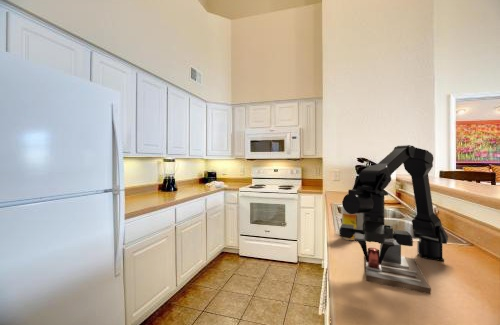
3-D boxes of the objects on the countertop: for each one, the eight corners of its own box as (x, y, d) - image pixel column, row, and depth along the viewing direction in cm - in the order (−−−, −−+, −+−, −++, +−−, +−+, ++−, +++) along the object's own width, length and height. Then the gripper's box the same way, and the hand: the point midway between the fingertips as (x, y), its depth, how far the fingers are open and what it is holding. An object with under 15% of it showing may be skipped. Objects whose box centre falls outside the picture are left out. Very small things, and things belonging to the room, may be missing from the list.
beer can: (358, 241, 100) (358, 207, 100) (343, 240, 101) (343, 206, 101) (354, 237, 106) (354, 205, 106) (340, 236, 107) (340, 204, 107)
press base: (414, 263, 78) (414, 255, 78) (430, 294, 59) (430, 283, 59) (365, 255, 85) (365, 247, 85) (366, 280, 66) (366, 271, 66)
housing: (397, 256, 78) (397, 236, 78) (401, 264, 72) (400, 242, 72) (381, 253, 81) (381, 234, 81) (382, 261, 74) (382, 239, 74)
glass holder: (363, 229, 118) (363, 200, 119) (374, 238, 104) (374, 205, 105) (345, 228, 120) (345, 200, 120) (354, 237, 106) (354, 205, 106)
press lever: (380, 270, 69) (380, 248, 69) (381, 275, 66) (381, 252, 66) (366, 267, 71) (365, 246, 71) (366, 272, 67) (366, 250, 67)
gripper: (337, 212, 65) (337, 267, 65) (417, 220, 57) (417, 282, 57) (341, 206, 75) (341, 253, 75) (408, 211, 67) (409, 264, 67)
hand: (373, 262), depth 68 cm, fingers closed on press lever, 3 cm apart
